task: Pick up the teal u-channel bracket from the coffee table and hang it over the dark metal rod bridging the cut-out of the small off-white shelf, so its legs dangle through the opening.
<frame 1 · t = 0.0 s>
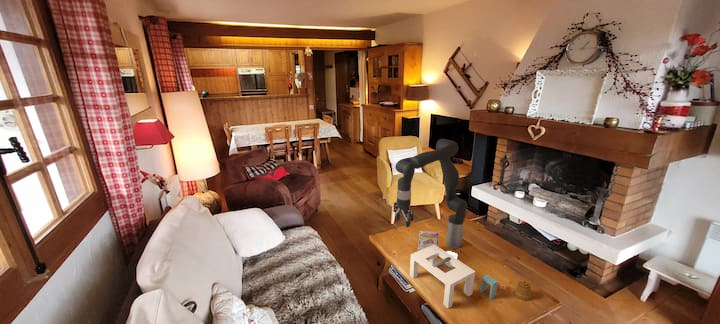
hand: (402, 223, 160), 29 cm above the table, fingers open, 8 cm apart
cutout shelf: (439, 284, 155), on the table
teal u-channel bracket: (487, 293, 148), on the table
candy bar box: (426, 256, 179), on the table
ornamental finial: (522, 295, 147), on the table
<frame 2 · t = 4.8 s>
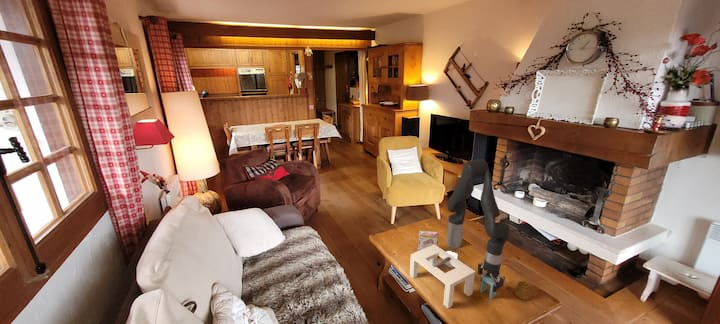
hand: (488, 287, 147), 4 cm above the table, fingers closed on teal u-channel bracket, 6 cm apart
teal u-channel bracket: (487, 293, 148), on the table, touching gripper
everything else where it was.
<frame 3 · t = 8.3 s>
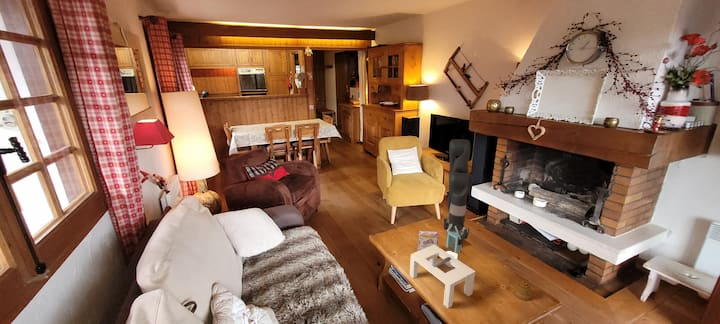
hand: (454, 241, 145), 28 cm above the table, fingers closed on teal u-channel bracket, 6 cm apart
teal u-channel bracket: (453, 248, 146), point 23 cm above the table, touching gripper
everything else where it was.
when the fingers open (13 cm above the table, at t = 12.1 s): teal u-channel bracket drops 1 cm, resting on cutout shelf.
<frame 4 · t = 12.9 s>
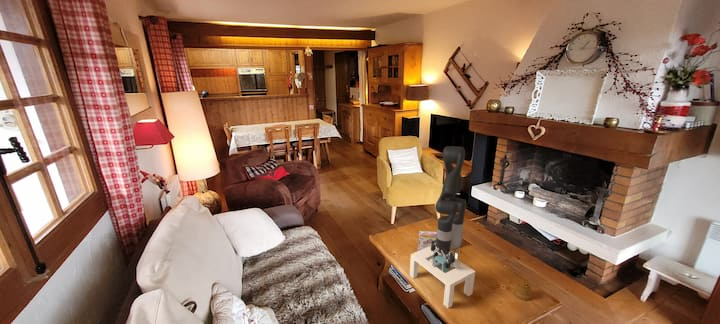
hand: (441, 263, 151), 13 cm above the table, fingers open, 8 cm apart
teal u-channel bracket: (440, 273, 153), point 7 cm above the table, touching cutout shelf
everything else where it was.
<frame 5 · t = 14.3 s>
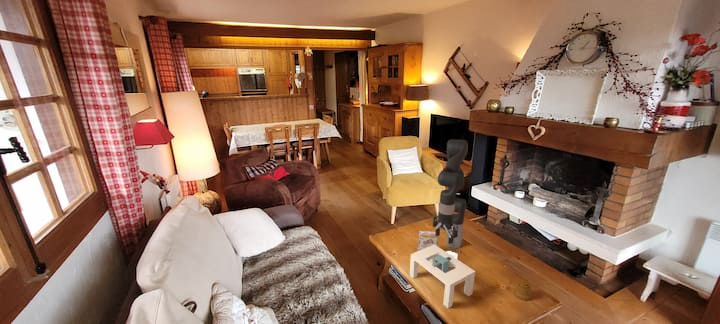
hand: (443, 239, 147), 28 cm above the table, fingers open, 8 cm apart
nothing on the table moved.
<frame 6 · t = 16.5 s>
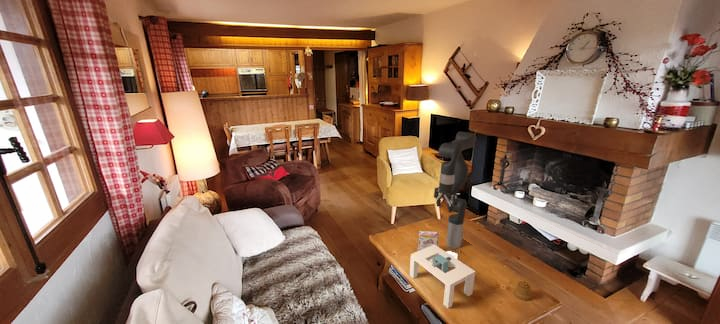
hand: (444, 209, 157), 38 cm above the table, fingers open, 8 cm apart
nothing on the table moved.
at the end: teal u-channel bracket 0.2 cm off-centre on the cutout shelf, point 7.2 cm above the cutout shelf's base; teal u-channel bracket touching cutout shelf; the gripper is holding nothing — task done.
